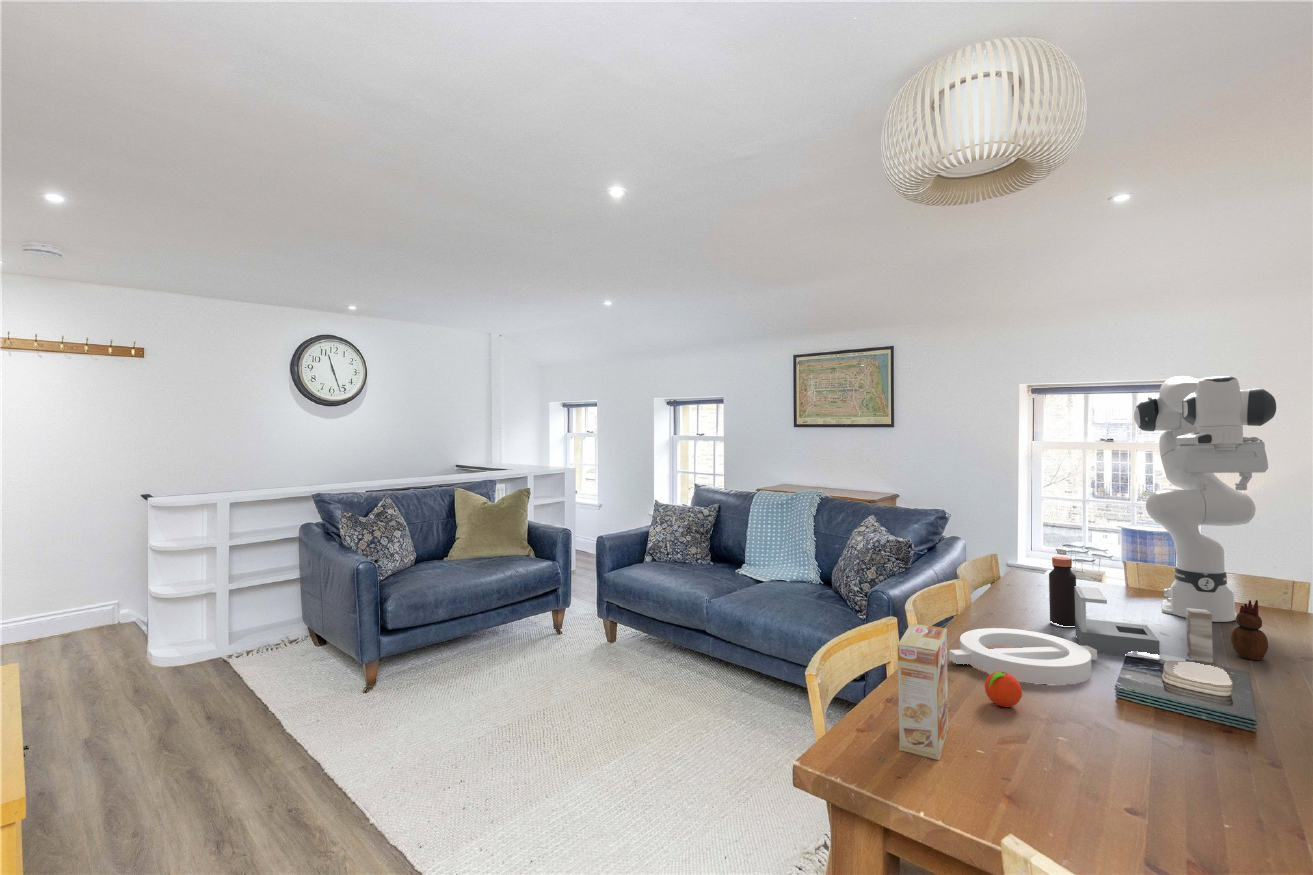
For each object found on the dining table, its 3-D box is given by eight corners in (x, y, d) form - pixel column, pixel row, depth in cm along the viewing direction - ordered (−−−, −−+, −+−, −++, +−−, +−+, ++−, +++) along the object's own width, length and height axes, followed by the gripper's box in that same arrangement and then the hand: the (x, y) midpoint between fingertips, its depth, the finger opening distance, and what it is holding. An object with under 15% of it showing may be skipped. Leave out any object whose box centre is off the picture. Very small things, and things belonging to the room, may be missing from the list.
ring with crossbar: (945, 667, 151) (945, 647, 151) (977, 638, 171) (977, 621, 171) (1081, 698, 132) (1080, 676, 132) (1099, 661, 152) (1099, 642, 152)
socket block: (1075, 635, 171) (1074, 585, 171) (1147, 643, 163) (1146, 591, 163) (1082, 650, 159) (1080, 597, 159) (1159, 660, 151) (1158, 604, 151)
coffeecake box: (940, 761, 107) (938, 650, 107) (897, 750, 110) (895, 643, 110) (950, 726, 119) (948, 627, 119) (911, 718, 123) (909, 622, 123)
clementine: (1006, 716, 123) (1005, 681, 123) (974, 703, 129) (973, 670, 129) (1029, 708, 127) (1029, 673, 127) (997, 695, 133) (997, 663, 133)
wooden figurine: (1274, 663, 148) (1272, 602, 148) (1246, 662, 149) (1245, 601, 149) (1253, 653, 155) (1251, 595, 155) (1226, 652, 156) (1225, 594, 156)
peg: (1187, 654, 155) (1186, 607, 155) (1207, 657, 153) (1206, 609, 153) (1191, 659, 151) (1190, 611, 151) (1212, 662, 149) (1211, 613, 149)
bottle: (1052, 627, 179) (1051, 559, 179) (1047, 620, 185) (1046, 555, 185) (1079, 629, 176) (1078, 560, 177) (1073, 622, 183) (1072, 556, 183)
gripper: (1253, 437, 160) (1254, 489, 160) (1169, 438, 163) (1170, 489, 163) (1274, 436, 154) (1276, 491, 154) (1186, 437, 157) (1188, 491, 156)
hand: (1221, 490), depth 158 cm, fingers open, 8 cm apart
